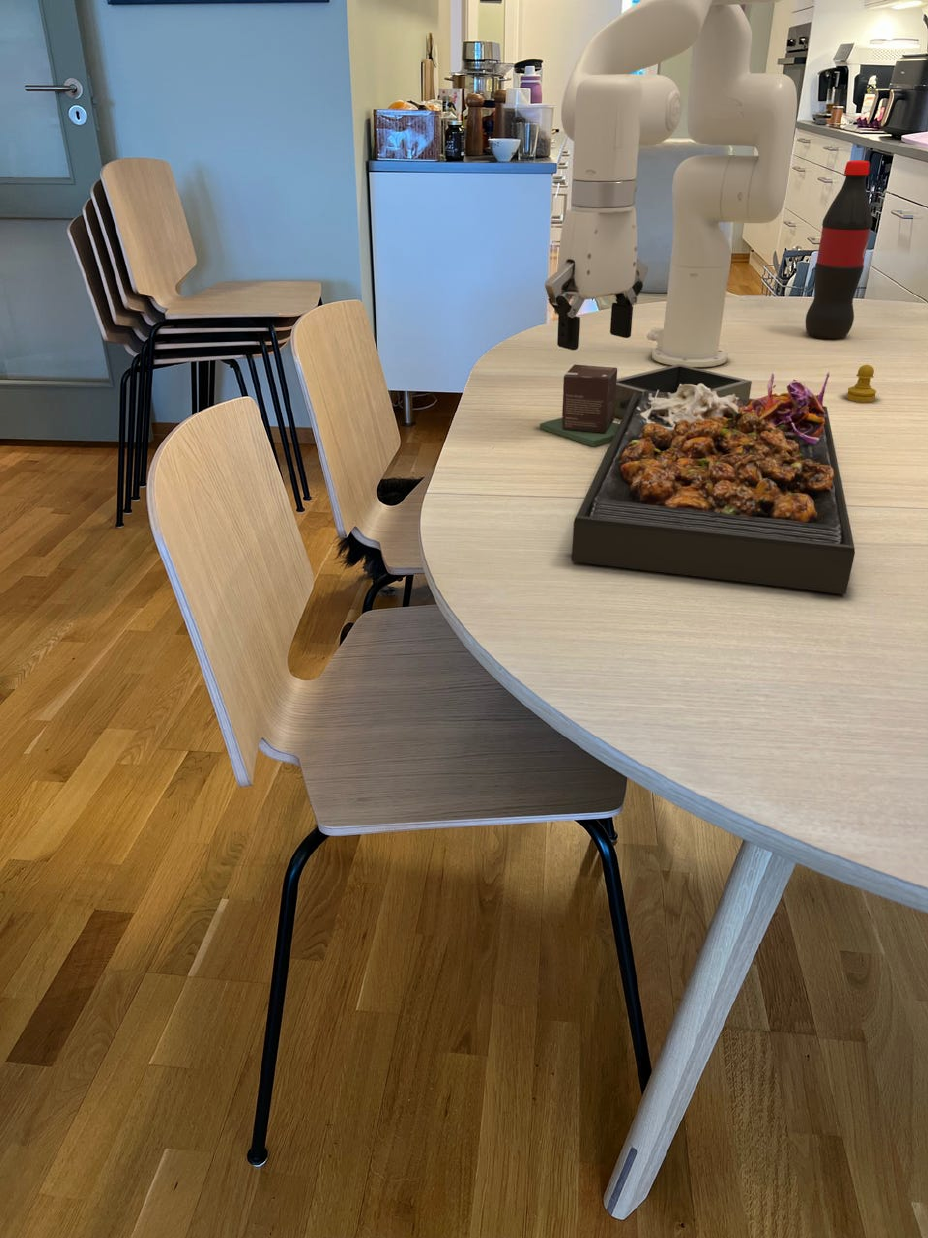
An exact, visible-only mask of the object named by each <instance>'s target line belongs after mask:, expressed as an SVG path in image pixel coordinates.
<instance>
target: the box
mask: <svg viewBox="0 0 928 1238" xmlns="http://www.w3.org/2000/svg"><path fill="white" fill-rule="evenodd" d="M617 379H618V367H614V366H613V367H612V366H611V367H609V366H598V365H586V364H573V365H572V366H571V368H570V369H569V370H567V372H565V374H564V375H563V383H562V384H563V385H562V386H563V387H562V389H563V390H562V409H561V411H562V413H561V418H562V429H569V430H581V431H592V432H602V433H606V431H607V429H608V428H609V426H610V425H611V423H612V422H614V420H615V417H614V409H615V395H616V382H617Z"/></svg>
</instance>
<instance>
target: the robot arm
mask: <svg viewBox="0 0 928 1238" xmlns="http://www.w3.org/2000/svg"><path fill="white" fill-rule="evenodd" d="M781 1H782V0H639V1H638V2H636V3H635V4H634V5H632V6H631V7H630V8H628V9H626V10H625V11H624V12H622V13H621V14H620V15H618V16H617V17H615V18H614V19H613V20H611V21H610V22H609V23H608V24H607V25H605V26H604V27H603V28H602V29H600V30H599V31H598V32H596V33H595V34H594V35H593V36H592V38H590V39H589V40H588V42H587V43H586V45H584V47H583V48H582V50H581V52H580V54H579V56H578V58H577V60H576V62H575V65H574V67H573V69H572V71H571V73H570V76H569V79H568V81H567V84H566V87H565V90H564V93H563V96H562V102H561V113H560V118H561V119H560V120H561V125H562V128H563V131H564V133H565V135H566V136H567V137H568V138H569V140H571V141H573V157H572V178H571V179H572V181H571V197H570V198H571V200H570V204H571V205H570V209H566V212H565V215H564V219H563V222H562V223H563V224H562V229H561V234H560V240H559V247H558V248H559V249H558V256H557V264H556V265H557V268H556V271H555V272H554V273H553V274H552V275H550V277H549V278H547V280H545V283H544V289H545V291H546V295H547V297H548V298H549V299H548V303H549V304H550V306H551V307H552V308H553V309H554V314H555V315H557V319H558V320H557V338H556V339H557V340H556V341H557V342H556V345H557V347H558V348H562V349H566V350H569V351H577V350H578V349H579V347H580V345H579V344H580V328H581V327H580V326H581V317H580V316H577V315H578V313H579V311H580V309H581V308H582V306H583V304H584V302H585V300H592V299H593V300H594V299H598V298H604V297H609V296H612V297H613V299H614V300H615V302H612V303H611V308H610V309H611V310H610V322H609V323H610V324H609V334H610V335H611V336H615V337H620V338H623V339H629V338H631V337H632V330H633V329H632V327H633V316H634V315H633V314H634V306H636V305H637V303H638V296H639V295H640V292H641V291H642V289H643V287H644V281H645V279H646V276H647V274H648V271H649V267H648V265H647V264H645V263H644V262H642V261H641V260H640V259H638V223H637V213H636V211H637V210H636V207H635V203H636V202H635V201H636V193H637V172H638V158H639V147H649V146H650V147H651V146H656V145H659V144H661V143H664V142H666V141H667V140H668V139H669V138H670V137H671V136H672V135H673V134H674V132H675V131H676V129H677V127H678V125H679V122H680V120H681V116H682V111H683V109H682V107H683V104H682V103H683V102H682V97H681V93H680V90H679V88H678V86H677V84H676V83H675V82H674V81H673V80H672V79H670V78H669V77H667V76H665V75H662V74H656V73H655V74H653V73H651V74H649V73H648V74H647V73H646V74H644V73H643V74H642V73H641V74H640V73H639V74H634V73H636V72H638V71H641V70H644V69H647V68H650V67H652V66H655V65H658V64H661V63H663V62H665V61H667V60H670V59H672V58H674V57H676V56H678V55H681V54H682V53H684V52H686V50H688V49H689V48H691V58H690V59H691V61H690V74H689V84H688V85H689V87H688V100H687V101H688V103H687V116H686V117H687V120H686V124H687V132H688V136H689V137H690V139H691V140H692V141H693V142H695V143H697V144H701V145H706V146H707V145H709V146H736V147H737V146H738V147H739V146H741V147H754V148H755V150H756V151H757V155H742V154H741V155H739V154H737V155H736V154H711V153H710V154H698V155H693V156H690V157H688V158H685V159H684V160H683V161H681V163H680V164H679V165H678V166H677V167H676V169H675V172H674V174H673V177H672V184H671V202H672V243H671V253H670V262H669V263H670V264H669V271H668V272H669V273H668V283H667V293H666V304H665V312H664V323H663V328H660V327H657V326H655V327H652V328H651V330H650V331H649V332H648V333H647V335H646V339H647V340H648V341H653V342H657V343H656V348H655V347H654V349H652V353H651V354H652V355H651V358H652V359H653V361H655V362H658V363H661V364H663V365H667V366H673V365H677V364H680V365H685V366H689V367H693V368H710V367H717V366H720V365H723V364H724V363H726V362H727V359H728V353H726V352H725V351H724V350H723V349H720V340H721V333H722V327H723V326H722V324H723V317H724V309H725V304H726V303H725V302H726V294H727V287H728V280H729V271H730V265H731V256H732V255H731V254H732V252H731V246H730V242H729V240H728V238H727V236H726V233H725V232H724V231H723V229H722V227H721V225H720V223H737V224H739V223H740V224H768V223H771V222H773V221H774V220H776V219H777V218H778V216H779V215H780V214H781V212H782V210H783V207H784V205H785V200H786V196H787V189H788V182H789V177H790V169H791V167H790V166H791V159H792V152H793V146H794V145H793V144H794V136H795V130H796V129H795V128H796V121H797V113H798V112H797V110H798V93H797V88H796V85H795V84H796V83H795V82H794V80H793V79H792V78H791V77H790V76H789V75H787V74H784V73H779V72H778V73H777V72H759V73H757V72H756V73H754V72H753V73H752V72H751V68H750V67H751V66H750V63H751V56H752V55H751V54H752V53H751V52H752V43H753V30H752V27H751V24H750V22H749V20H748V18H747V15H746V13H745V12H744V10H743V8H742V7H741V5H756V4H757V5H758V4H772V3H779V2H781ZM571 299H572V301H571ZM570 301H571V303H570Z"/></svg>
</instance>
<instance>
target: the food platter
mask: <svg viewBox="0 0 928 1238" xmlns="http://www.w3.org/2000/svg"><path fill="white" fill-rule="evenodd" d="M829 378H830V371H829V372H827V374H826V377H825V380H824V383H823V386H822V387H821V390H820V393H819V394H816V395H815V394H814V393H813V392H812V391H811V389H809V388H808V386H807V385H806V384H805V383H804V382H801V381H799V380H797V379H792V381H791V382H790V383H789V384H788V385H786V390H787V392H782V393H780V395H778V393H776V392H775V393H773V392H774V391H773V389H775V388H776V386H777V384H774V382H775V381H774V380H775V374H774V373H773V372H772V373H771V377H770V379H769V381H768V382H767V395H765V396H760V397H758V398H749V399H744V398H736V397H735V394H733V395H727V396H726V397H718V396H717V394H716V391H713V392H711V391H710V388H707V387H706V386H704V385H703V384H701V383H700V384H698V385H697V386H696V385H692V384H684V385H681V384H680V385H679V387H678V388H677V392H676V393H669V392H659V390H658V391H657V392H655V391H644V392H642V393H639V392H634V394H633V396H632V399H631V401H630V403H629V405H628V407H627V409H626V411H625V414H624V416H623V418H622V419H621V420H620V422H619V423H618V424H619V426H618V428H617V431H616V433H615V435H614V437H613V439H612V441H611V442H609V443H610V444H609V446H608V447H607V449H606V452H605V454H604V456H603V458H602V461H601V463H600V464H599V467H598V469H597V471H596V473H595V476H594V477H593V480H592V482H591V484H590V486H589V488H588V490H587V492H586V495H585V496H584V498H583V501H582V503H581V504H580V507H579V509H578V510H577V511H578V512H577V514H576V516H575V518H574V521H573V528H572V529H573V531H572V532H573V533H572V547H571V562H576V563H584V564H592V565H601V566H609V567H617V568H626V569H633V570H642V571H651V572H657V573H667V574H676V575H682V576H683V575H684V576H689V577H690V576H691V577H700V578H707V579H716V580H724V581H732V582H742V583H748V584H749V583H750V584H758V585H765V586H772V587H773V586H774V587H781V588H790V589H798V590H807V591H813V592H815V591H816V592H822V593H832V594H841V595H846V594H847V590H848V586H849V581H850V576H851V571H852V568H853V564H854V559H855V554H856V551H855V544H854V539H853V533H852V529H851V524H850V518H849V513H848V508H847V503H846V498H845V493H844V488H843V487H844V486H843V483H842V478H841V472H840V467H839V462H838V457H837V452H836V447H835V442H834V437H833V431H832V428H831V427H832V426H831V421H830V416H829V411H828V407H827V406H825V405H823V404H824V395H825V392H826V387H827V384H828V381H829Z"/></svg>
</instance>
